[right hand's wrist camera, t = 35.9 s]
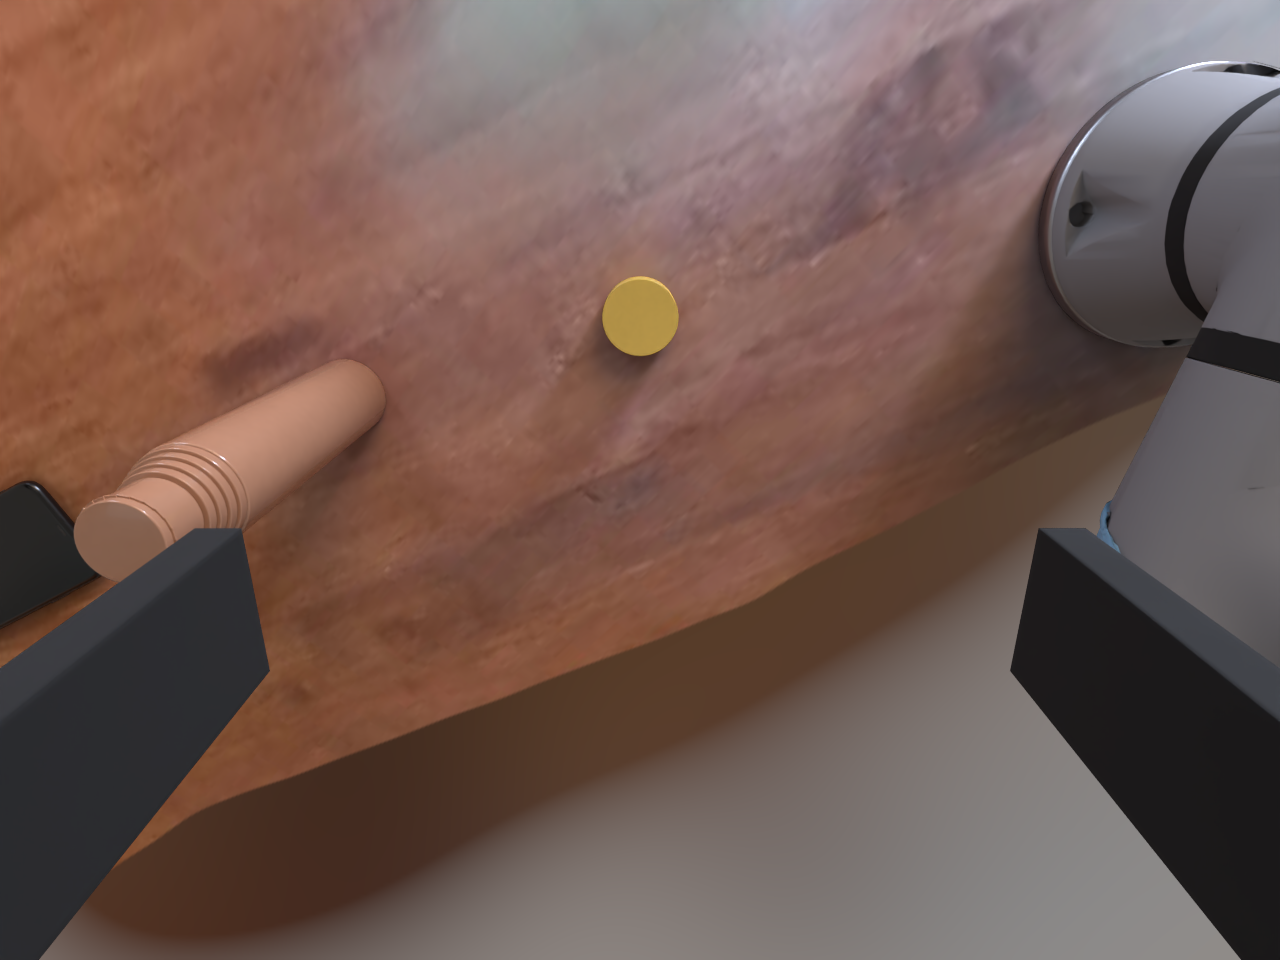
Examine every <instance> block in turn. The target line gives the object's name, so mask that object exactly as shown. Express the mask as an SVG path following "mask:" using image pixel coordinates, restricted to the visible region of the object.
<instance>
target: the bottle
mask: <svg viewBox="0 0 1280 960" xmlns="http://www.w3.org/2000/svg"><path fill="white" fill-rule="evenodd" d="M385 405H386V396H385V391H384V388H383V386H382V383H381V382H380V380H379V378H378V377H377V376H376V374H375V373H374V372H373V371H372V370H370V369H369V368H368V367H366V366H365V365H363V364H361V363H359V362H356V361H353V360H348V359H338V360H333V361H330V362H328V363H326V364H324V365H322V366H320V367H318V368H316V369H313V370H311V371H309V372H307V373H305V374H303V375H301V376H299V377H297V378H295V379H293V380H291V381H289V382H287V383H285V384H283V385H281V386H279V387H277V388H275V389H273V390H271V391H269V392H267V393H265V394H263V395H261V396H259V397H257V398H255V399H253V400H251V401H249V402H247V403H245V404H243V405H241V406H239V407H237V408H235V409H233V410H231V411H229V412H227V413H225V414H223V415H221V416H219V417H217V418H215V419H212V420H210V421H208V422H206V423H204V424H202V425H200V426H198V427H196V428H194V429H192V430H190V431H188V432H186V433H184V434H182V435H180V436H178V437H176V438H174V439H172V440H170V441H168V442H166V443H164V444H162V445H160V446H158V447H156V448H154V449H152V450H151V451H149V452H148V453H147V454H146V455H145V456H143V457H142V458H141V459H140V460H139V461H138V462H136V464H135V465H134V466H133V468H132V469H131V471H130V472H129V473H128V475H127V476H126V478H125V479H124V480H123V482H122V483H121V485H120V486H119V487H118V489H117V491H115V492H113V493H111V494H109V495H105V496H102V497H100V498H97V499H95V500H92V501H91V502H90V503H89V504H87V505H86V506H85V507H84V508H83V509H82V510H81V512H80V514H79V516H78V517H77V520H76V522H75V526H74V540H75V544H76V547H77V549H78V552H79V554H80V555H81V557H82V558H83V560H84V561H85V562H86V563H87V564H88V565H89V566H90V567H91V568H92V569H93V570H94V571H96V572H97V573H99V574H100V575H102V576H104V577H105V578H107V579H109V580H112V581H115V582H118V583H119V582H121V581H122V580H123V579H125V578H126V577H128V576H129V575H130V574H132V573H133V572H135V571H136V570H137V569H139V568H140V567H142V566H143V565H144V564H146V563H147V562H148V561H150V560H151V559H153V558H154V557H155V556H157V555H158V554H160V553H161V552H162V551H164V550H165V549H167V548H168V547H169V546H171V545H172V544H173V543H175V542H176V541H178V540H179V539H180V538H182V537H183V536H185V535H186V534H187V533H189V532H190V531H192V530H193V529H194V528H241V529H242V533H244V532H245V531H246V530H247V529H249V528H250V527H251V526H252V525H253V524H255V523H256V522H257V521H258V520H260V519H261V518H262V517H263V516H264V515H266V514H267V513H268V512H269V511H271V510H272V509H273V508H274V507H275V506H277V505H278V504H279V503H280V502H281V501H283V500H284V499H285V498H286V497H288V496H289V495H290V494H291V493H292V492H294V491H295V490H296V489H297V488H299V487H300V486H301V485H302V484H303V483H305V482H306V481H307V480H308V479H310V478H311V477H312V476H313V475H314V474H316V473H317V472H318V471H319V470H321V469H322V468H323V467H324V466H325V465H327V464H328V463H329V462H330V461H332V460H333V459H334V458H335V457H336V456H338V455H339V454H340V453H341V452H343V451H344V450H345V449H346V448H347V447H349V446H350V445H351V444H352V443H354V442H355V441H356V440H357V439H358V438H360V437H361V436H362V435H363V434H365V433H366V432H367V431H368V430H369V429H371V428H372V427H373V426H374V425H375V424H376V423H378V421H379V420H380V419H381V417H382V415H383V413H384V410H385Z"/></svg>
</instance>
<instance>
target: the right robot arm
mask: <svg viewBox="0 0 1280 960" xmlns="http://www.w3.org/2000/svg"><path fill="white" fill-rule="evenodd" d="M1254 62H1255V61H1254ZM1258 63H1259V62H1258ZM1261 64H1263V63H1261ZM1265 65H1266V64H1265ZM1269 66H1270V65H1269ZM1272 67H1274V66H1272ZM1276 68H1277V67H1276ZM1279 69H1280V68H1279ZM1039 254H1040V260H1041V265H1042V269H1043V273H1044V276H1045V279H1046V281H1047V284H1048V286H1049V289H1050V290H1051V292H1052V294H1053V296H1054V298H1055V299H1056V301H1057V302H1058V304H1059V305H1060V306H1061V308H1062V309H1063V310H1064V311H1065V312H1066V313H1067V314H1068V315H1069V316H1070V317H1071V318H1072V319H1073V320H1074V321H1075V322H1077V323H1078V324H1079V325H1081V326H1082V327H1084V328H1085V329H1087V330H1089V331H1091V332H1092V333H1094V334H1096V335H1099V336H1101V337H1104V338H1107V339H1110V340H1114V341H1117V342H1121V343H1125V344H1129V345H1133V346H1140V347H1154V348H1158V347H1159V348H1163V347H1180V346H1187V345H1192V344H1193V345H1192V347H1191V349H1190V351H1189V353H1188V355H1187V356H1186V357H1188V358H1185V360H1184V362H1183V363H1182V365H1181V367H1180V369H1179V371H1178V373H1177V375H1176V377H1175V379H1174V381H1173V383H1172V385H1171V387H1170V389H1169V391H1168V393H1167V395H1166V397H1165V398H1164V400H1163V402H1162V404H1161V406H1160V408H1159V410H1158V412H1157V414H1156V416H1155V418H1154V420H1153V422H1152V424H1151V426H1150V428H1149V430H1148V432H1147V433H1146V435H1145V437H1144V439H1143V441H1142V443H1141V445H1140V447H1139V449H1138V451H1137V453H1136V455H1135V457H1134V459H1133V461H1132V463H1131V465H1130V466H1129V468H1128V470H1127V472H1126V474H1125V476H1124V478H1123V480H1122V482H1121V484H1120V486H1119V488H1118V490H1117V492H1116V494H1115V496H1114V498H1113V500H1111V501H1109V502H1108V503H1106V505H1105V507H1104V509H1103V511H1102V513H1101V518H1100V529H1099V532H1098V534H1097V536H1095V535H1094V534H1093V533H1091V532H1090V531H1088V530H1087V529H1086V528H1039V530H1038V534H1037V539H1036V545H1035V549H1034V554H1033V560H1032V565H1031V569H1030V574H1029V579H1028V584H1027V589H1026V594H1025V600H1024V605H1023V609H1022V614H1021V619H1020V624H1019V629H1018V634H1017V639H1016V645H1015V649H1014V654H1013V659H1012V665H1011V669H1010V671H1011V672H1012V674H1013V675H1014V676H1015V678H1016V679H1017V680H1018V681H1019V683H1020V684H1021V685H1022V686H1023V687H1024V689H1025V690H1026V691H1027V693H1028V694H1029V695H1030V696H1031V698H1032V699H1033V700H1034V701H1035V703H1036V704H1037V705H1038V706H1039V708H1040V709H1041V710H1042V711H1043V713H1044V714H1045V715H1046V716H1047V717H1048V719H1049V720H1050V721H1051V723H1052V724H1053V725H1054V726H1055V727H1056V729H1057V730H1058V731H1059V733H1060V734H1061V735H1062V736H1063V738H1064V739H1065V740H1066V741H1067V743H1068V744H1069V745H1070V746H1071V748H1072V749H1073V750H1074V751H1075V753H1076V754H1077V755H1078V756H1079V757H1080V759H1081V760H1082V761H1083V763H1084V764H1085V765H1086V766H1087V768H1088V769H1089V770H1090V771H1091V773H1092V774H1093V775H1094V776H1095V778H1096V779H1097V780H1098V781H1099V783H1100V784H1101V785H1102V786H1103V788H1104V789H1105V790H1106V791H1107V792H1108V794H1109V795H1110V796H1111V798H1112V799H1113V800H1114V801H1115V803H1116V804H1117V805H1118V806H1119V808H1120V809H1121V810H1122V811H1123V813H1124V814H1125V815H1126V816H1127V818H1128V819H1129V820H1130V821H1131V823H1132V824H1133V825H1134V826H1135V828H1136V829H1137V830H1138V831H1139V833H1140V834H1141V835H1142V836H1143V838H1144V839H1145V840H1146V841H1147V843H1148V844H1149V845H1150V846H1151V848H1152V849H1153V850H1154V851H1155V853H1156V854H1157V855H1158V856H1159V858H1160V859H1161V860H1162V861H1163V863H1164V864H1165V865H1166V866H1167V868H1168V869H1169V870H1170V871H1171V873H1172V874H1173V875H1174V876H1175V878H1176V879H1177V880H1178V881H1179V883H1180V884H1181V885H1182V886H1183V888H1184V889H1185V890H1186V891H1187V893H1188V894H1189V895H1190V896H1191V898H1192V899H1193V900H1194V901H1195V903H1196V904H1197V905H1198V906H1199V908H1200V909H1201V910H1202V911H1203V913H1204V914H1205V915H1206V916H1207V918H1208V919H1209V920H1210V921H1211V923H1212V924H1213V925H1214V926H1215V928H1216V929H1217V930H1218V931H1219V933H1220V934H1221V935H1222V936H1223V938H1224V939H1225V940H1226V941H1227V943H1228V944H1229V945H1230V946H1231V948H1232V949H1233V950H1234V951H1235V953H1236V954H1237V955H1238V956H1239V958H1240V959H1241V960H1280V71H1279V70H1276V69H1273V68H1270V67H1266V66H1262V65H1258V64H1253V63H1247V62H1224V61H1221V62H1207V63H1201V64H1195V65H1191V66H1187V67H1183V68H1179V69H1175V70H1172V71H1168V72H1164V73H1161V74H1158V75H1156V76H1153V77H1150V78H1148V79H1146V80H1144V81H1142V82H1140V83H1138V84H1136V85H1134V86H1132V87H1130V88H1129V89H1127V90H1125V91H1124V92H1122V93H1121V94H1119V95H1118V96H1116V97H1115V98H1114V99H1112V100H1111V101H1110V102H1108V103H1107V104H1106V105H1105V106H1104V107H1102V108H1101V109H1100V110H1099V111H1098V112H1097V113H1096V114H1095V115H1094V116H1093V117H1092V118H1091V119H1090V120H1089V121H1088V122H1087V123H1086V124H1085V125H1084V126H1083V127H1082V129H1081V130H1080V131H1079V132H1078V133H1077V135H1076V136H1075V137H1074V139H1073V140H1072V141H1071V143H1070V144H1069V146H1068V147H1067V149H1066V150H1065V152H1064V154H1063V155H1062V157H1061V159H1060V160H1059V162H1058V164H1057V166H1056V168H1055V170H1054V172H1053V175H1052V177H1051V180H1050V182H1049V185H1048V187H1047V190H1046V194H1045V197H1044V200H1043V205H1042V209H1041V214H1040V222H1039ZM1201 361H1202V362H1201ZM1205 362H1206V363H1205ZM1209 363H1210V364H1209ZM1213 364H1215V365H1213ZM1216 365H1219V366H1216ZM1220 366H1223V367H1220ZM1224 367H1227V368H1224ZM1228 368H1231V369H1235V370H1238V371H1235V370H1231V369H1228ZM1239 371H1242V372H1239ZM1243 372H1246V373H1249V374H1246V373H1243ZM1250 374H1253V375H1250ZM1254 375H1257V376H1260V377H1257V376H1254ZM1261 377H1264V378H1261ZM1265 378H1268V379H1265ZM1269 379H1271V380H1269ZM1272 380H1275V381H1272ZM1276 381H1279V382H1276ZM269 671H270V669H269V664H268V659H267V654H266V649H265V644H264V639H263V634H262V629H261V624H260V619H259V614H258V609H257V604H256V599H255V594H254V589H253V584H252V579H251V574H250V569H249V564H248V559H247V554H246V549H245V544H244V539H243V534H242V529H241V528H194V529H193V530H192V531H190V532H189V533H187V534H186V535H185V536H183V537H182V538H180V539H179V540H178V541H176V542H175V543H173V544H172V545H171V546H169V547H168V548H167V549H165V550H164V551H162V552H161V553H160V554H158V555H157V556H155V557H154V558H153V559H151V560H150V561H148V562H147V563H146V564H144V565H143V566H142V567H140V568H139V569H137V570H136V571H135V572H133V573H132V574H130V575H129V576H128V577H126V578H125V579H123V580H122V581H121V582H119V583H118V584H117V585H115V586H114V587H112V588H111V589H110V590H108V591H107V592H105V593H104V594H103V595H101V596H100V597H98V598H97V599H96V600H94V601H93V602H91V603H90V604H89V605H87V606H86V607H85V608H83V609H82V610H80V611H79V612H78V613H76V614H75V615H73V616H72V617H71V618H69V619H68V620H66V621H65V622H64V623H62V624H61V625H60V626H58V627H57V628H55V629H54V630H53V631H51V632H50V633H48V634H47V635H46V636H44V637H43V638H41V639H40V640H39V641H37V642H36V643H35V644H33V645H32V646H30V647H29V648H28V649H26V650H25V651H23V652H22V653H21V654H19V655H18V656H16V657H15V658H14V659H12V660H11V661H9V662H8V663H7V664H5V665H4V666H3V667H1V668H0V960H39V959H40V958H41V956H42V955H43V954H44V953H45V951H46V950H47V949H48V948H49V946H50V945H51V944H52V943H53V941H54V940H55V939H56V938H57V936H58V935H59V934H60V933H61V931H62V930H63V929H64V928H65V926H66V925H67V924H68V923H69V921H70V920H71V919H72V918H73V916H74V915H75V914H76V913H77V911H78V910H79V909H80V908H81V906H82V905H83V904H84V903H85V901H86V900H87V899H88V898H89V896H90V895H91V894H92V893H93V891H94V890H95V889H96V888H97V886H98V885H99V884H100V883H101V881H102V880H103V879H104V878H105V876H106V875H107V874H108V873H109V871H110V870H111V869H112V868H113V866H114V865H115V864H116V863H117V861H118V860H119V859H120V858H121V856H122V855H123V854H124V853H125V851H126V850H127V849H128V848H129V846H130V845H131V844H132V843H133V841H134V840H135V839H136V838H137V836H138V835H139V834H140V833H141V831H142V830H143V829H144V828H145V826H146V825H147V824H148V823H149V821H150V820H151V819H152V818H153V816H154V815H155V814H156V813H157V811H158V810H159V809H160V808H161V806H162V805H163V804H164V803H165V801H166V800H167V799H168V798H169V796H170V795H171V794H172V793H173V791H174V790H175V789H176V788H177V786H178V785H179V784H180V783H181V781H182V780H183V779H184V778H185V776H186V775H187V774H188V773H189V771H190V770H191V769H192V768H193V766H194V765H195V764H196V763H197V761H198V760H199V759H200V758H201V756H202V755H203V754H204V753H205V751H206V750H207V749H208V748H209V746H210V745H211V744H212V743H213V741H214V740H215V739H216V738H217V736H218V735H219V734H220V733H221V731H222V730H223V729H224V728H225V726H226V725H227V724H228V723H229V721H230V720H231V719H232V718H233V716H234V715H235V714H236V713H237V711H238V710H239V709H240V708H241V706H242V705H243V704H244V703H245V701H246V700H247V699H248V698H249V696H250V695H251V694H252V693H253V691H254V690H255V689H256V688H257V686H258V685H259V684H260V683H261V681H262V680H263V679H264V677H265V676H266V675H267V674H268V672H269Z"/></svg>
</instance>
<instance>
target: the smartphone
mask: <svg viewBox="0 0 1280 960" xmlns="http://www.w3.org/2000/svg"><path fill="white" fill-rule="evenodd" d="M74 526H75V524H74V522H73V521H72V520H71V519H70V518H69V516H68V515H67V514H66V513H65V512H64V510H63V509H62V508H61V507H60V506H59V504H58V503H57V502H56V501H55V500H54V498H53V497H52V496H51V495H50V494H49V493H48V491H47V490H46V489H45V488H44V487H43V486H42V485H40V484H39V483H37V482H34V481H22V482H20V483H17V484H15V485H13V486H12V487H10V488H8V489H6V490H3V491H2V492H0V629H2V628H4V627H6V626H8V625H10V624H12V623H13V622H15V621H17V620H19V619H21V618H23V617H25V616H27V615H29V614H31V613H33V612H35V611H37V610H39V609H41V608H42V607H44V606H46V605H48V604H50V603H53V602H55V601H57V600H59V599H61V598H63V597H65V596H67V595H69V594H70V593H71V592H73V591H75V590H77V589H79V588H81V587H83V586H85V585H87V584H89V583H91V582H93V581H95V580H96V579H98V578H100V577H101V576H102V575H100V574H99V573H97V572H96V571H94V570H93V569H92V568H91V567H90V566H89V565H88V564H87V563H86V562H85V561H84V560H83V558H82V557H81V555H80V554H79V552H78V549H77V547H76V544H75V540H74Z"/></svg>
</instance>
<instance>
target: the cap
mask: <svg viewBox="0 0 1280 960" xmlns="http://www.w3.org/2000/svg"><path fill="white" fill-rule="evenodd" d="M602 321H603V327H604V330H605V333H606V335H607V337H608V339H609V340H610V341H611V343H612V344H613V345H614V346H615V347H616V348H618V349H619V350H621V351H622V352H624V353H627V354H630V355H634V356H647V355H651V354H654V353H656V352H658V351H660V350H662V349H663V348H664V347H665V346H666V345H668V343H669V342H670V341H671V340H672V338H673V336H674V334H675V332H676V329H677V326H678V309H677V306H676V303H675V300H674V298H673V296H672V294H671V293H670V291H669V290H668V289H667V288H666V287H665V286H664V285H663V284H662V283H660V282H659V281H657V280H655V279H652V278H649V277H641V276H639V277H632V278H628V279H626V280H624V281H622V282H620V283H619V284H618V285H616V286H615V287H614V288H613V289H612V291H611V292H610V294H609V295H608V297H607V299H606V302H605V305H604V308H603V314H602Z"/></svg>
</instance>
